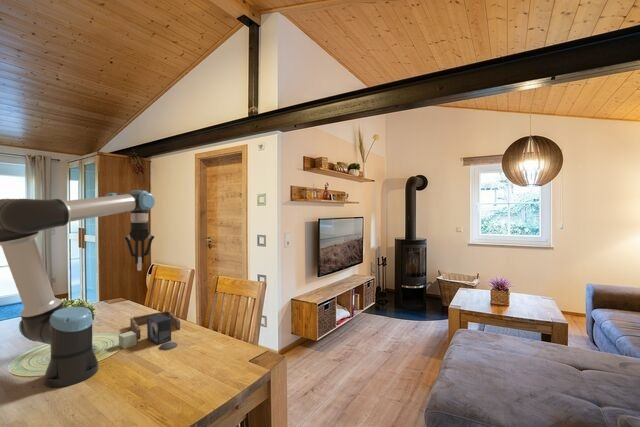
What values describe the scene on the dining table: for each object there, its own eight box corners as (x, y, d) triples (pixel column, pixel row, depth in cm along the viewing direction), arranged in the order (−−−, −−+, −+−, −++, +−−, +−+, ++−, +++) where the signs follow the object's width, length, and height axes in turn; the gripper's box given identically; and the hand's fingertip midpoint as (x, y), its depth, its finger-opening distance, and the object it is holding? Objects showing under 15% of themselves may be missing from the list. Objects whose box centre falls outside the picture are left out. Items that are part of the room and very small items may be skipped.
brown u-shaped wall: (180, 329, 151) (180, 320, 151) (137, 339, 139) (137, 330, 139) (169, 318, 166) (169, 310, 166) (130, 326, 154) (130, 318, 154)
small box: (146, 339, 139) (145, 316, 139) (160, 334, 145) (160, 313, 144) (157, 345, 133) (157, 322, 133) (171, 340, 138) (171, 317, 138)
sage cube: (136, 344, 134) (136, 333, 134) (123, 349, 130) (123, 337, 130) (131, 341, 137) (131, 330, 137) (118, 346, 133) (118, 334, 133)
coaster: (179, 346, 132) (179, 346, 132) (161, 351, 127) (161, 350, 127) (174, 341, 137) (174, 340, 137) (157, 345, 133) (157, 345, 133)
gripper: (153, 221, 156) (152, 267, 156) (122, 222, 148) (122, 270, 148) (155, 222, 150) (155, 269, 150) (124, 222, 142) (124, 272, 142)
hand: (139, 270), depth 149 cm, fingers closed
